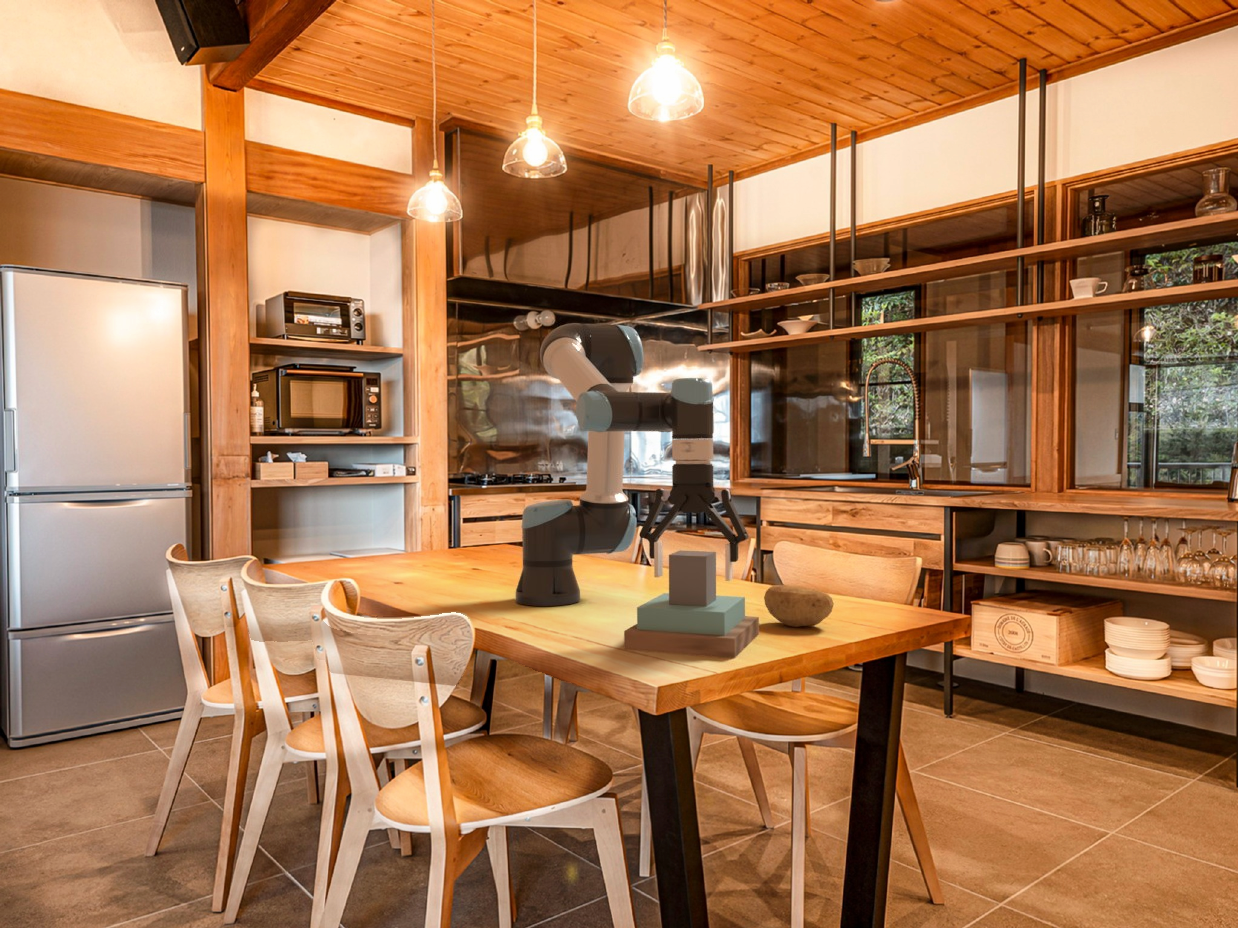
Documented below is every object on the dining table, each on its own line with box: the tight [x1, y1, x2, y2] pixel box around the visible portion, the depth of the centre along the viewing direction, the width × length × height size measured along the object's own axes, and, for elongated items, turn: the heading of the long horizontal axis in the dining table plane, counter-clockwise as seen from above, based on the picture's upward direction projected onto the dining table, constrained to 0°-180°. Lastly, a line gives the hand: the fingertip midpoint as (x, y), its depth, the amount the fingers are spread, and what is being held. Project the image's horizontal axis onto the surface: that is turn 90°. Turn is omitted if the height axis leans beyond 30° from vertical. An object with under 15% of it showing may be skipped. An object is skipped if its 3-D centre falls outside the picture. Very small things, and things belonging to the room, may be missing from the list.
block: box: [668, 550, 717, 607], centre depth 161 cm, size 7×7×9 cm
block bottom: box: [623, 615, 760, 659], centre depth 161 cm, size 20×20×4 cm
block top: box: [636, 592, 746, 635], centre depth 161 cm, size 16×16×4 cm
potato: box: [763, 584, 834, 628], centre depth 174 cm, size 10×14×8 cm
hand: (693, 578), depth 161 cm, fingers open, 13 cm apart
